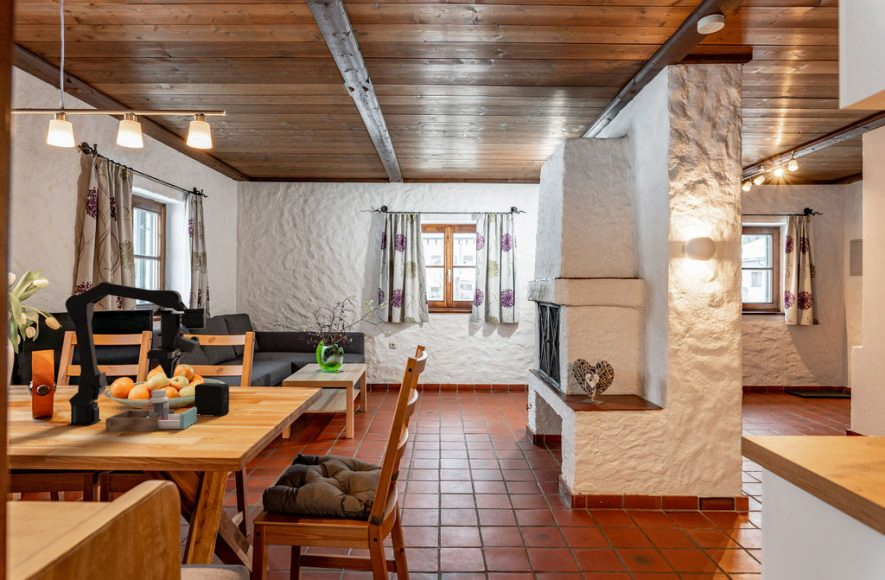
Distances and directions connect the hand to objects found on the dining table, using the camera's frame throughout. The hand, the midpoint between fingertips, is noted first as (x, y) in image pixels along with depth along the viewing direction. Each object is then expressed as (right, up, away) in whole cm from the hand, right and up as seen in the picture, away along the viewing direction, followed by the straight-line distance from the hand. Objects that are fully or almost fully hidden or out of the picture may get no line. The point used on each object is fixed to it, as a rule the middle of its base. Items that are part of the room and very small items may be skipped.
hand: (170, 378), depth 175 cm
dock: (-4, -13, -9) cm, 16 cm away
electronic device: (+11, -13, +7) cm, 18 cm away
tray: (+4, -13, -9) cm, 16 cm away
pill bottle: (+1, -12, -9) cm, 15 cm away
